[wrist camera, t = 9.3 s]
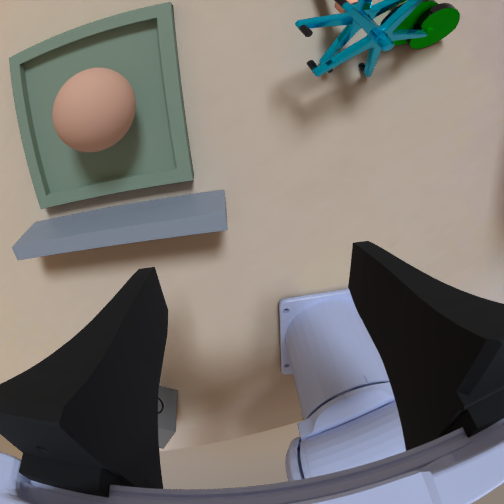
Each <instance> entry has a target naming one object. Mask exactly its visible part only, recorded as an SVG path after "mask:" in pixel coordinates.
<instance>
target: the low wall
mask: <svg viewBox="0 0 504 504" xmlns="http://www.w3.org/2000/svg"><path fill="white" fill-rule="evenodd" d="M225 230H228V228H227V213H226V201H225V193H224V190H219V191H211V192H204V193H196V194H189V195H182V196H175V197H168V198H162V199H155V200H149V201H143V202H137V203H131V204H125V205H120V206H114V207H108V208H103V209H98V210H92V211H87V212H82V213H77V214H72V215H67V216H63V217H58V218H53V219H49V220H44V221H40V222H35V223H34V224H33V225H32V226H31V227H30V228H29V229H28V230H27V231H26V232H25V233H24V235H23V236H22V237H21V238H20V239H19V240H18V241H17V242H16V243H15V244H14V245H13V247H12V249H13V251H14V253H15V256H16V258H17V260H23V259H29V258H35V257H41V256H47V255H54V254H60V253H66V252H73V251H79V250H86V249H93V248H99V247H106V246H113V245H120V244H127V243H134V242H141V241H148V240H156V239H163V238H171V237H178V236H186V235H193V234H201V233H209V232H217V231H225Z"/></svg>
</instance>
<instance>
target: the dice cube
mask: <svg viewBox="0 0 504 504" xmlns="http://www.w3.org/2000/svg"><path fill="white" fill-rule="evenodd" d="M177 395H178V390H174V389H170V388H166V387H162V386H159V392H158V440H159V448H163V449H164V447H165V446H166V444H167V443H168V442H169V440H170V439H171V437H172V436H173V435H174V433H175V432H176V413H177Z"/></svg>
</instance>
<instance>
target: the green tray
mask: <svg viewBox="0 0 504 504" xmlns="http://www.w3.org/2000/svg"><path fill="white" fill-rule="evenodd" d="M9 63H10V73H11V81H12V89H13V96H14V102H15V108H16V114H17V119H18V124H19V129H20V134H21V139H22V143H23V148H24V152H25V156H26V160H27V164H28V168H29V171H30V175H31V179H32V182H33V185H34V189H35V192H36V195H37V199H38V202H39V205H40V208H41V209H44V208H48V207H52V206H56V205H61V204H65V203H70V202H74V201H79V200H84V199H88V198H93V197H98V196H103V195H108V194H113V193H119V192H124V191H129V190H135V189H141V188H147V187H153V186H159V185H165V184H171V183H178V182H185V181H192V180H193V177H194V172H193V166H192V159H191V153H190V146H189V139H188V132H187V125H186V117H185V110H184V102H183V94H182V86H181V78H180V69H179V60H178V51H177V42H176V32H175V22H174V11H173V5H172V4H171V2H169V3H163V4H158V5H154V6H149V7H145V8H140V9H136V10H132V11H129V12H125V13H121V14H118V15H114V16H111V17H107V18H104V19H101V20H98V21H95V22H92V23H89V24H86V25H83V26H80V27H77V28H75V29H72V30H69V31H67V32H64V33H62V34H59V35H57V36H54V37H52V38H50V39H47V40H45V41H43V42H41V43H38V44H36V45H34V46H32V47H30V48H28V49H26V50H24V51H22V52H20V53H18V54H16V55H14V56H12V57H10V58H9ZM90 68H107V69H111V70H114V71H116V72H118V73H120V74H121V75H122V76H124V77H125V78H126V79H127V81H128V82H129V83H130V85H131V87H132V89H133V91H134V94H135V99H136V111H135V116H134V119H133V122H132V124H131V126H130V128H129V130H128V131H127V133H126V134H125V135H124V136H123V137H122V138H121V139H120V140H119V141H118V142H117V143H116V144H114V145H113V146H111V147H109V148H107V149H104V150H101V151H97V152H81V151H78V150H75V149H73V148H71V147H69V146H68V145H66V144H65V143H64V142H63V141H62V140H61V139H60V138H59V136H58V134H57V133H56V130H55V128H54V124H53V118H52V111H53V105H54V101H55V98H56V96H57V94H58V92H59V90H60V89H61V87H62V86H63V85H64V84H65V83H66V82H67V81H68V80H69V79H70V78H71V77H72V76H74V75H75V74H77V73H79V72H81V71H83V70H86V69H90Z"/></svg>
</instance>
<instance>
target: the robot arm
mask: <svg viewBox="0 0 504 504" xmlns="http://www.w3.org/2000/svg"><path fill="white" fill-rule="evenodd" d="M348 288H349V289H345V290H338V291H332V292H326V293H319V294H313V295H306V296H299V297H292V298H285V299H282V300H281V301H280V302H279V318H280V348H281V372H282V374H283V375H289V374H293V377H294V381H295V386H296V390H297V394H298V398H299V403H300V407H301V411H302V416H303V420H304V421H302V422H299V423H298V428H299V433H300V437H297V438H295V439H293V440H292V442H291V443H290V446H289V449H288V451H287V454H286V472H287V478H288V482H282V483H275V484H268V485H259V486H250V487H239V488H224V489H194V490H193V489H191V490H184V489H183V490H182V489H163V484H162V476H161V467H160V456H159V440H158V392H159V382H160V376H161V369H162V363H163V357H164V351H165V345H166V338H167V327H168V308H167V305H166V302H165V299H164V296H163V293H162V290H161V286H160V283H159V280H158V276H157V273H156V270H155V267H152V268H143V269H139V270H138V271H137V272H136V273H135V274H134V275H133V276H132V277H131V278H130V279H129V280H128V281H127V283H126V284H125V285H124V286H123V287H122V288H121V289H120V291H119V292H118V293H117V294H116V295H115V296H114V297H113V298H112V300H111V301H110V302H109V303H108V304H107V305H106V306H105V307H104V308H103V309H102V310H101V311H100V312H99V313H98V314H97V316H96V317H95V318H94V319H93V320H92V321H91V322H90V323H89V324H88V325H87V326H86V327H84V328H83V329H82V330H81V331H80V332H79V333H78V334H77V335H76V336H74V337H73V338H72V339H71V340H70V341H68V342H67V343H66V344H64V345H63V346H62V347H61V348H59V349H58V350H57V351H55V352H54V353H53V354H51V355H50V356H49V357H47V358H46V359H44V360H43V361H41V362H40V363H38V364H36V365H35V366H33V367H32V368H30V369H28V370H27V371H25V372H23V373H21V374H19V375H17V376H15V377H14V378H12V379H10V380H8V381H6V382H4V383H2V384H0V434H1V435H2V436H4V437H5V438H6V439H7V440H8V441H9V442H10V443H12V444H13V445H14V446H16V447H17V448H18V449H19V450H20V451H22V452H23V456H22V460H20V459H18V458H16V457H14V456H11V455H8V454H5V453H2V452H0V504H471V503H472V502H474V501H476V500H478V499H479V498H481V497H482V496H484V495H486V494H487V493H489V492H490V491H492V490H493V489H495V488H496V487H498V486H499V485H501V484H502V483H503V482H504V304H502V303H498V302H494V301H490V300H487V299H484V298H480V297H478V296H475V295H472V294H469V293H466V292H464V291H461V290H459V289H456V288H454V287H452V286H450V285H447V284H445V283H443V282H441V281H439V280H437V279H435V278H433V277H431V276H429V275H427V274H425V273H423V272H421V271H420V270H418V269H416V268H414V267H413V266H411V265H409V264H407V263H406V262H404V261H402V260H401V259H399V258H397V257H396V256H394V255H392V254H391V253H389V252H387V251H386V250H384V249H382V248H381V247H379V246H377V245H375V244H373V243H371V242H369V241H364V242H356V243H353V249H352V259H351V268H350V277H349V286H348ZM284 309H287V310H284Z"/></svg>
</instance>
